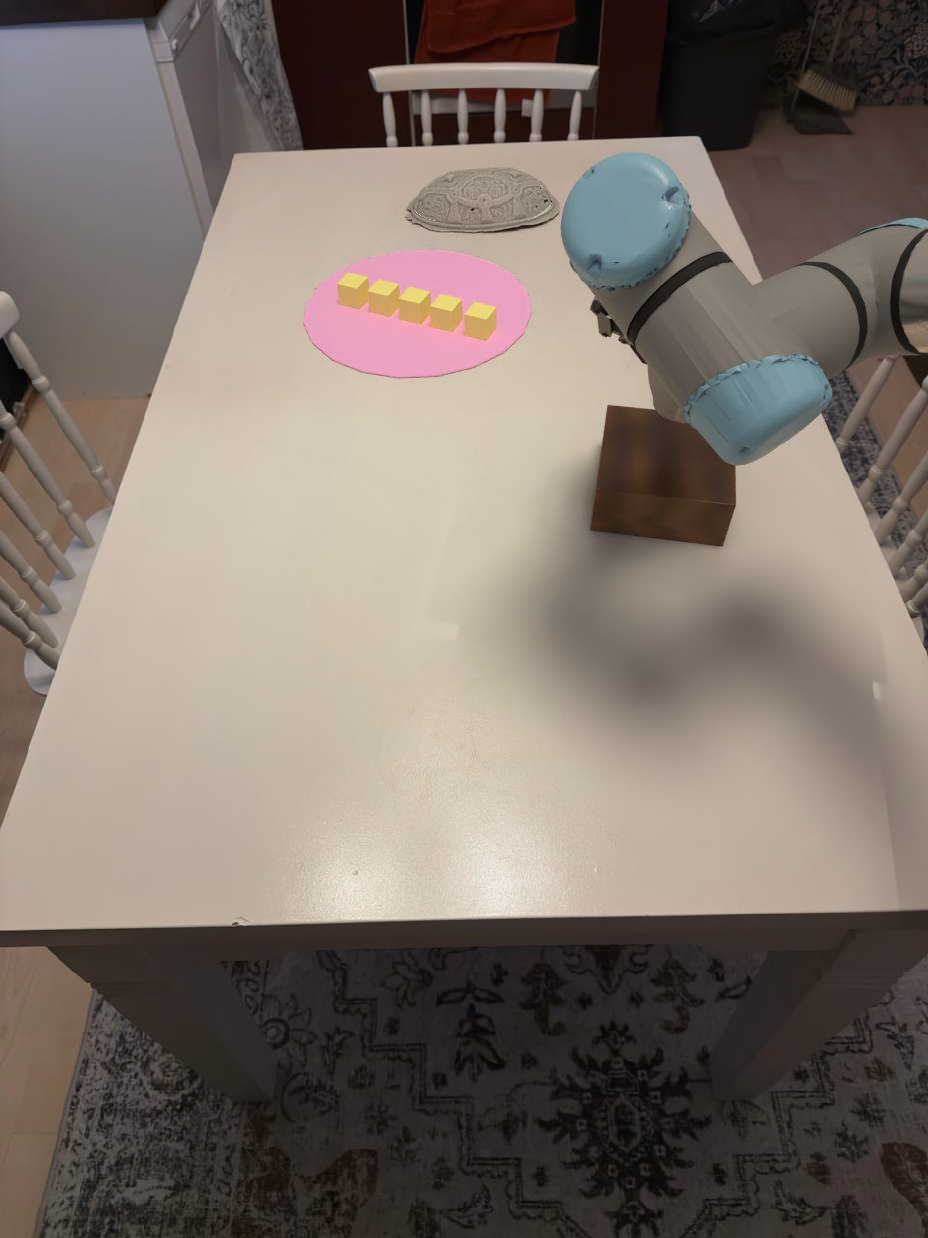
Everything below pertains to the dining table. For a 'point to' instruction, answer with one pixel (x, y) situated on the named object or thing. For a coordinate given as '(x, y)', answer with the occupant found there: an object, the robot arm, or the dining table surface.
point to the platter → (417, 313)
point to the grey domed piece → (468, 189)
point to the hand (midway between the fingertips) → (695, 364)
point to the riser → (661, 480)
